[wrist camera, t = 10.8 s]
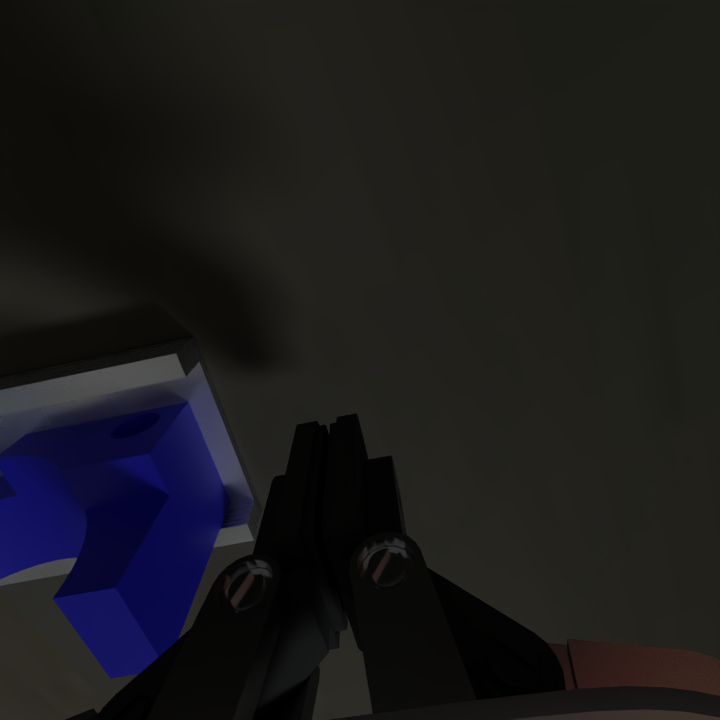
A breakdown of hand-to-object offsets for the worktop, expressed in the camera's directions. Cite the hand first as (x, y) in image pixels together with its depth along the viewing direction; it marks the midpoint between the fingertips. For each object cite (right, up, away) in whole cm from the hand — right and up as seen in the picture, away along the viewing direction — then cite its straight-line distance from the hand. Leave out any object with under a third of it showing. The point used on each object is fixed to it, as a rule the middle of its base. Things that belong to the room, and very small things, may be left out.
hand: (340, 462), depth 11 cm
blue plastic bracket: (-11, -2, +4) cm, 12 cm away
